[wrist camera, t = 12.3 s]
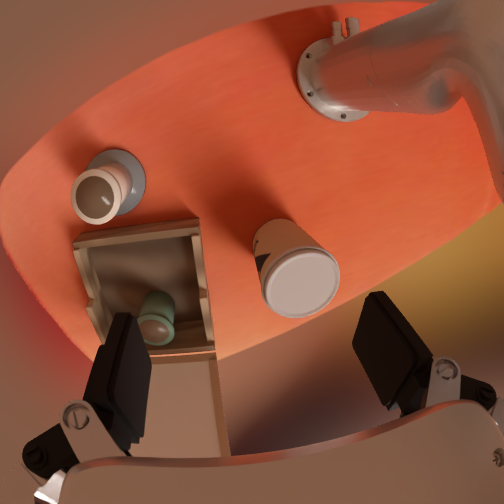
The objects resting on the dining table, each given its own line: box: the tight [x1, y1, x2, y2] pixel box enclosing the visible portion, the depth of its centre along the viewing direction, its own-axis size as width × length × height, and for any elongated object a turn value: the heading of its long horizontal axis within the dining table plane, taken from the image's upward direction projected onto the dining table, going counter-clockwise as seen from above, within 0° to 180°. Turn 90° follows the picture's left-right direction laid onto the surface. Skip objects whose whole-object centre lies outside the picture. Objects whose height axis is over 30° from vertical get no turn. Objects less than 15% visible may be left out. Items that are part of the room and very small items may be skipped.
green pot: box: [137, 291, 175, 346], centre depth 39 cm, size 6×6×6 cm
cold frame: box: [72, 218, 215, 355], centre depth 37 cm, size 18×18×7 cm
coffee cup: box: [253, 219, 340, 318], centre depth 36 cm, size 9×9×12 cm
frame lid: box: [129, 352, 231, 458], centre depth 32 cm, size 19×18×1 cm
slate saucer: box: [86, 149, 146, 216], centre depth 33 cm, size 9×9×1 cm
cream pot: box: [71, 162, 133, 224], centre depth 29 cm, size 6×6×7 cm
